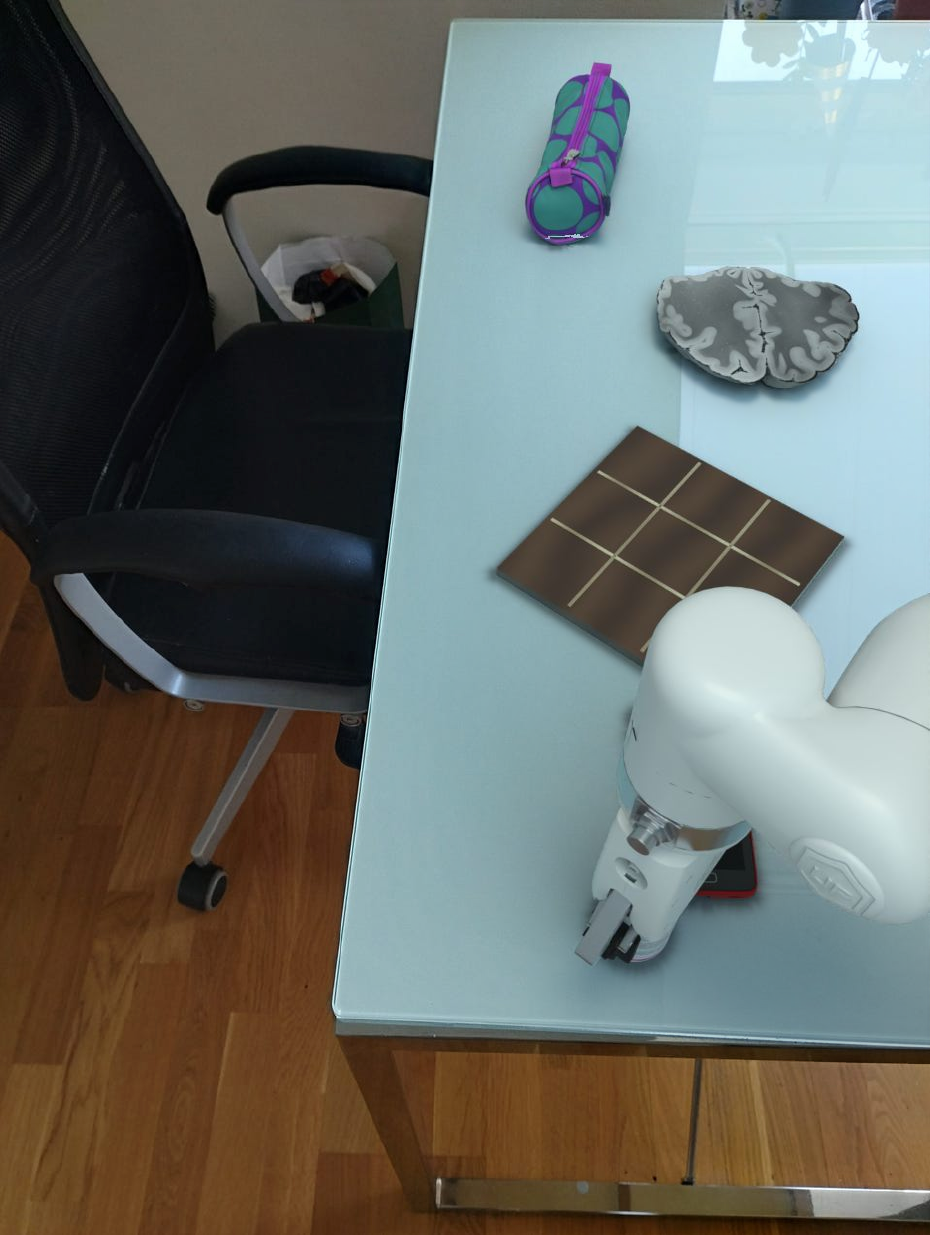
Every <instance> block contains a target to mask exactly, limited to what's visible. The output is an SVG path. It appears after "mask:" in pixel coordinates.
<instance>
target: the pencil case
mask: <svg viewBox="0 0 930 1235" xmlns="http://www.w3.org/2000/svg"><path fill="white" fill-rule="evenodd" d="M612 68H613V65H612V64H611V63H606V62H605V63H604V62H596V61H593V63H592V67H591V70H590V74H589V73H586V74H578V75H575V76H573V77H571V78H570V79H568V80H567V81H566V82H565V83H564V84H563V85H562V86H561V88H560V89H559V90H558V92H557V95H556V98H555V102H554V109H553V113H552V114H553V115H552V119H551V127H550V133H549V138H548V140H547V142H546V145H545V149H544V151H543V154H542V157H541V162H540V166H539V167H538V169H537V173H536V175H535V176H534V178H533V179H532V180H531V182H530V184H529V186H528V188H527V190H526V194H525V197H524V198H525V200H524V207H525V213H526V217H527V220H528V222H529V224H530V226H531V227H532V229H533V231H535V233H536V234H537V235H538V236H539V237H540V236H541V237H540V238H541V239H542V240H544V241H546V242H548V243H550V244H553V245H556V246H560V245H561V246H562V245H569V244H573V243H577V242H579V241H583V240H584V239H583V238H573V237H571V236H570V237H550V239H544V238H548V236H565V235H574V234H576V235H577V234H580V236H583V237H586V236H589V237H591V236H592V235H594V234H595V233H596V232H598V231H599V230H600V228H601V227H602V225H603V223H604V222H605V219H606V217H607V218H608V217H609V216H610V214H611V208H612V207H611V205H612V199H611V196H610V194H611V190H612V188H613V183H614V179H615V176H616V173H617V168H618V164H619V160H620V157H621V153H622V150H623V146H624V145H623V144H624V141H625V136H626V133H627V130H628V122H629V120H630V114H631V101H630V97H629V94H628V92H627V90H626V88H625V87H624V86H623V85H622V84H621V83H620V81H617V80H616V79H614V78H612V77H611V73H612Z"/></svg>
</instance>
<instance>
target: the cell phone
mask: <svg viewBox="0 0 930 1235" xmlns="http://www.w3.org/2000/svg"><path fill="white" fill-rule="evenodd" d="M755 854H756V853H755V846H754V838H753V831H752V829H751V830H750V832H749V833H748V834H747V835H746V836H745V837H744V838H743V839H742V840H741V841H740V842H738V843H737V844H736V845H734V846H732V847H730V848H728V849H726V851H725V852H724V854H723V855H722V857H721V858H720V860H719V861H718V862H717V864H716V865H715V867H714V868H713V870H712V871H711V873H710V874H709V875H708V877H707V878H706V880H705V881H704V883H703V884H702V885H701V887H700V888H699V890H698V891H697V892H696V894H695V895H694V896H706V897H707V898H708V899H734V900H735V899H749V898H752V897H754V896H755V895H756V893H757V890H758V886H759V885H758V883H759V882H758V869H757V863H756V855H755Z"/></svg>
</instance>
